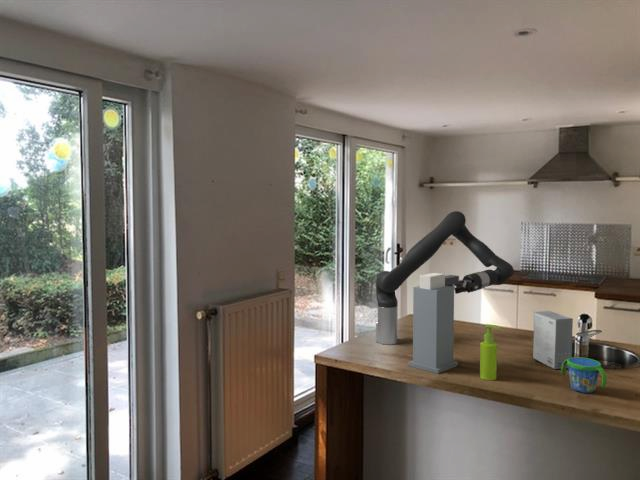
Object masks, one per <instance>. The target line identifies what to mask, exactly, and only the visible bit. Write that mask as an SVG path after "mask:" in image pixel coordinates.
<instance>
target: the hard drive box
mask: <svg viewBox="0 0 640 480" xmlns="http://www.w3.org/2000/svg"><path fill="white" fill-rule="evenodd" d="M573 319H574V318H571V317H569V316H565V315H563V314H560V313H557V312H553V311H549V310H543V311H533V341H532V342H533V343H532V344H533V346H532V347H533V348H532V349H533V350H532V351H533V352H532V357H533V359H535V360H536V361H537V362H540V363H542V364H544V365H545V366H547V367H549V368H551V369H553V370H558V369H559V370H561V368H562V364H563V362H564V361H565V360H567V359H569V358H572V357H573V355H572V354H573V323H574V320H573ZM566 369H569V366H568V364H566Z"/></svg>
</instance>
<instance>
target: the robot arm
mask: <svg viewBox="0 0 640 480" xmlns="http://www.w3.org/2000/svg"><path fill="white" fill-rule="evenodd" d="M451 236H453V237H454V238H456V239H457V240H458V241H459V242H460V243H462V245H464V246H465V247H466V248H467V249H468V250H469V252H471V253H472V254H473V255H474V256H475V257H476V258H477V260H479V262H481V264H482V265H483V266H484V267H485V268H491V266H493V267H495V269H494V270H493V269H486V270H482V271H477V272H473V273H469V274H465V275H464V276H463V277H462V279H459V283H457V284H452V285H448V286H452V287H454V294H462V293H468V294H469V293H473V292H477V291H479V290H483V289H485V288H488V287H490V286H500V285H504V284H505V283H507V282H508V280H509V279H510V278H512V277H513V276H514V274H515V269H514V267H513V265H512V264H511V263H510V262H508V261H506V260H505V259H503V258H502V257H500V256H498V255H497V254H496V253H495V252H494V251H493V250H492V249H491V248H490V247H489V246H488V245H487V244H486V243H484V242H483V241H482V240H481V239H478V238H477V237H476V236H475V235H474V234H473V233H471V231H470V230H469V229H468V228H467V226H466V216H465V214H464V213H463V212H462V211H459V210H457V211H456V210H455V211H451V212H450V213H448V214H447V215H446V216H445V217H444V218H443V220H442V221H441V222H440V223H439V224H438V225H437V226H436V227H434V229H432V230H431V231H430V232H428V233H426V235H425V236H424V237H422V239H420V240H419V241H418V242H417V243H415V244H414V245H413V246H412V247H411V248H410V249H409V250H408V252H407V253H406V254H405V256H404V257H403V259H402V260H401V262H400V263H399V264H397V266H396V267H394V268H393V269H391V270H390V271H389V270H383V271H380V272H379V273H378V275H377V276H376V279H375V288H376V289H375V291H376V292H375V293H376V295H375V297H376V301H377V321H376V322H375V343H378V344H381V345H396V344H398V340H399V339H398V317H399V316H398V310H399V309H398V299H397V294H396V291H397V290H399V288H400V287H401V286H402V285H403V284H404V282H406V280H407V279H408V278H410V276H411V275H412V274H414V273H415V272H416V271H417V270H419V268H421V267H422V266H423V265H424V264H426V263H427V261H429V260H430V259H432V257H433V256H434V255H435V254H436V253H437V251H438V250H440V248H441V246H442V245H443V244H444V243H445V241H446V240H447V239H448V238H450V237H451Z"/></svg>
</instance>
